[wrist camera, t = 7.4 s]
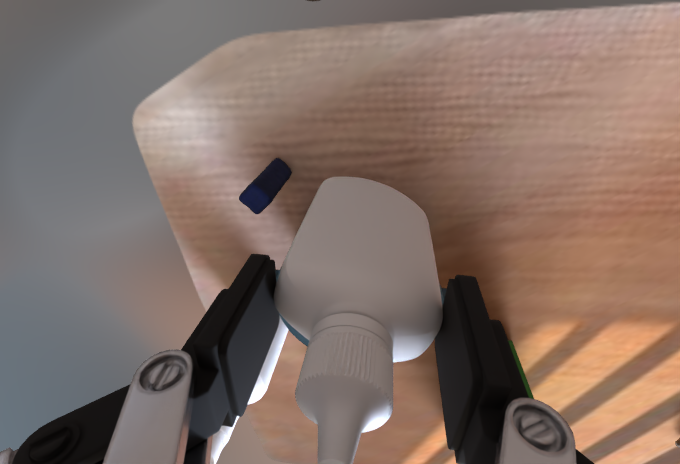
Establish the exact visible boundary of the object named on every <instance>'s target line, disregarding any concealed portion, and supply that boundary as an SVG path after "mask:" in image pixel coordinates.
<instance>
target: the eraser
mask: <svg viewBox="0 0 680 464" xmlns="http://www.w3.org/2000/svg"><path fill="white" fill-rule="evenodd" d="M291 173H292V171H291V169H290V168H289V167H288V166H287V165H286V164H285V163H284V162H283V161H282V160H281V159H279V158H276V159H275V160H273V161H272V162H271V163H270V164H269V165H268V166H267V167H266V169H265V170H264V171H263V172H262V173H261V174H260V175H259V176H258V177H257V178H256V179H255V180H254V181H253V182H252V183H251V184H250V185H249V186H248V187H247V188H246V189H245V190H244V191H243V192H242V193H241V195H240V197H239V200H240V201H241V202H242V203H243V204H245V205H246V206H247V207H249V208H250V209H251V210H252V211H253V212H254V213H255V214H259V213H261V212H262V211H263V210H264V209H265V208H266V207H267V206H268V205H269V204H270V203H271V202H272V201H273V199H274V197H275V196H276V195H277V193H278V192H279V191H280V190H281V188H282V187H283V185H284V184H285V182H286V181H287V180H288V179H289V177H290V175H291Z"/></svg>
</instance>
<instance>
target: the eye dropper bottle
mask: <svg viewBox="0 0 680 464" xmlns="http://www.w3.org/2000/svg"><path fill="white" fill-rule="evenodd" d="M274 304H275V307H276V308H277V310H278V311H279V313H280V314H281V316H282V317H283V318H284V319H285V320H286V321H287V322H288V323H289V324H290V325H291V326H292V327H293V328H294V329H295V330H297V331H298V332H299V333H300V334H301V335H303V336H304V337H305V338H307V339H308V340H309V344H308V347H307V351H306V355H305V358H304V362H303V365H302V369H301V372H300V376H299V380H298V383H297V387H296V390H295V391H296V392H295V395H296V396H295V398H296V401H297V404H298V406H299V408H300V409H301V411H302V412H303V413H304V414H305V416H307V417H308V418H309V419H310V420H311V421H313V422H314V423H316V424H318V464H353V460H354V457H355V453H356V450H357V446H358V442H359V439H360V436H361V433H363V432H368V431H371V430H374V429H376V428H378V427H380V426H381V425H383V424H384V423H385V422H386V421H387V420H388V419H389V418H390V416H391V413H392V410H393V362H400V361H407V360H411V359H414V358H416V357H418V356H420V355H421V354H422V353H424V351H425V350H426V349H427V348H428V347H429V346H430V344H431V343H432V341H433V340H434V339H435V337H436V335H437V334H438V332H439V330H440V328H441V325H442V320H443V310H442V300H441V292H440V286H439V280H438V274H437V268H436V262H435V256H434V251H433V245H432V239H431V234H430V228H429V223H428V219H427V216H426V214H425V212H424V211H423V210H422V209H421V208H420V207H419V206H418V205H417V204H416V203H415V202H413V201H412V200H411V199H410V198H408V197H407V196H405V195H404V194H402V193H401V192H399V191H397V190H396V189H394V188H392V187H389V186H387V185H385V184H382V183H379V182H376V181H373V180H369V179H364V178H358V177H331V178H328V179H326V180H324V181H323V183H322V184H321V185H320V187H319V189H318V191H317V193H316V195H315V197H314V199H313V201H312V203H311V205H310V207H309V209H308V211H307V213H306V215H305V217H304V220H303V222H302V224H301V226H300V228H299V230H298V232H297V234H296V236H295V238H294V240H293V242H292V244H291V247H290V249H289V251H288V253H287V255H286V258H285V260H284V262H283V265H282V268H281V271H280V274H279V277H278V280H277V283H276V287H275V291H274Z"/></svg>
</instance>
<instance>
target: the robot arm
mask: <svg viewBox="0 0 680 464" xmlns="http://www.w3.org/2000/svg"><path fill="white" fill-rule="evenodd" d="M276 283H277V281H276V270H275V262H274V260H270V257H269V256H268V255H260V254H251V255H250V257H249V258H248V260H247V262H246V263H245V265H244V266H243V268H242V269H241V271H240V272H239V274H238V275H237V277H236V278H235V280H234V282H233V283H232V285H231V286H230V288H229V289H223V290H222V291H221V292H220V293H219V294H218V296H217V297H216V299H215V300H214V302H213V303H212V305H211V306H210V308H209V309H208V311H207V312H206V314H205V315H204V317H203V318H202V320H201V321H200V323H199V324H198V326H197V327H196V329H195V330H194V332H193V333H192V334H191V336H190V337H189V339H188V340H187V342H186V343H185V345H184V346H183V348H182V349H181V350H167V351H163V352H160V353H158V354H156V355H153V356H151V357H150V358H148V359H147V360H146V361H144V362H143V363H142V364H141V365H140V367H139V368H138V369H137V370H136V372H135V374H134V376H133V379H132V382H131V384H130V385H128V386H126V387H123V388H121V389H119V390H117V391H115V392H113V393H111V394H109V395H106V396H105V397H102V398H100V399H98V400H96V401H94V402H91V403H89V404H87V405H85V406H83V407H81V408H79V409H76V410H74V411H72V412H70V413H68V414H66V415H64V416H62V417H59V418H57V419H55V420H53V421H51V422H49V423H47V424H46V425H44V426H42V427H41V428H39V429H38V430H37V431H35V432H34V433H33V434H32V435H30V436H29V437H28V438H27V439H26V441H25V442H24V443H23V444H22V445H21V446H20V448H19V449H17V450H15V451H13V450H12V449H11V448H8V449H6V450H3V451H1V452H0V464H210V458H211V448H212V439H213V434H215V433H217V432H218V431H219V430H220V428H221V426H228V427H233V425H234V423H235V420H236V418H237V416H240V417H241V416H242V415H243V414H244V412H245V409H246V407H247V404H248V402H249V399H250V397H251V394H252V392H253V389H254V387H255V384H256V382H257V379H258V377H259V374H260V372H261V369H262V367H263V364H264V362H265V359H266V357H267V354H268V351H269V349H270V346H271V344H272V341H273V339H274V336H275V334H276V331H277V329H278V326H279V320H280V315H279V311H278V310H277V308H276V307H275V304H274V291H275V287H276ZM442 310H443V320H442V325H441V328H440V330H439V332H438V334H437V335H436V337H435V351H436V359H437V367H438V375H439V382H440V390H441V398H442V406H443V414H444V422H445V430H446V437H447V445H448V448H449V449H451V450H455V457H456V463H458V464H594V463H593V462H592V461H590V460H589V459H588V458H586V457H585V456H584V455H583V454H581V453H580V452H579V451H578V450H576V449H575V440H574V436H573V432H572V430H571V429H570V427H569V425H568V423H567V422H566V421H565V420H564V418H563V417H562V416H561V415H560V414H559V413H558V412H557V411H555V410H554V409H553V408H551V407H550V406H548V405H547V404H545V403H543V402H541V401H538V400H535V399H531V398H529V396H528V393H527V391H526V388H525V385H524V382H523V380H522V377H521V374H520V372H519V369H518V366H517V363H516V361H515V358H514V355H513V353H512V350H511V347H510V344H509V342H508V339H507V336H506V334H505V331H504V328H503V326H502V324H501V322H500V321H499V320H491V319H489V316H488V313H487V310H486V307H485V303H484V300H483V297H482V294H481V291H480V288H479V285H478V282H477V279H476V277H474V276H464V275H456V277H455V279H449V282H448V286H447V290H446V294H445V299H444V303H443V307H442Z"/></svg>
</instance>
